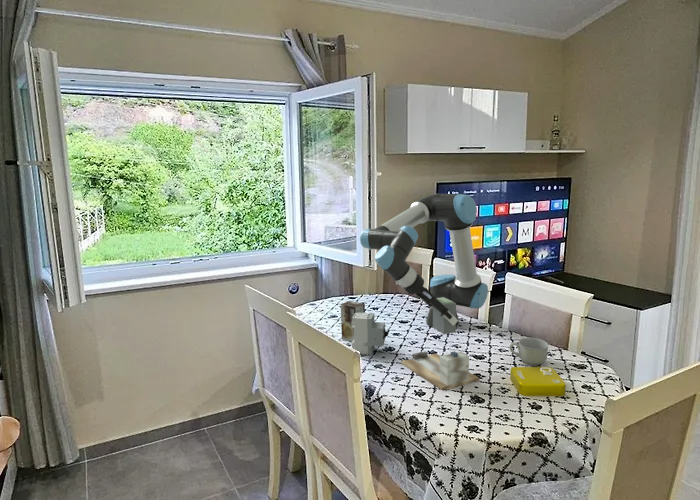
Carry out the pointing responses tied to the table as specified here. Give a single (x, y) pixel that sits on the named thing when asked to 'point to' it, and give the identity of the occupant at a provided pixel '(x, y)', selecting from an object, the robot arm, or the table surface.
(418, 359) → the rail plate
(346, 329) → the coffee box
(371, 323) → the circuit breaker
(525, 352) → the teacup
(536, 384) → the element tile
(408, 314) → the table surface
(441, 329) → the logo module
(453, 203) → the robot arm
